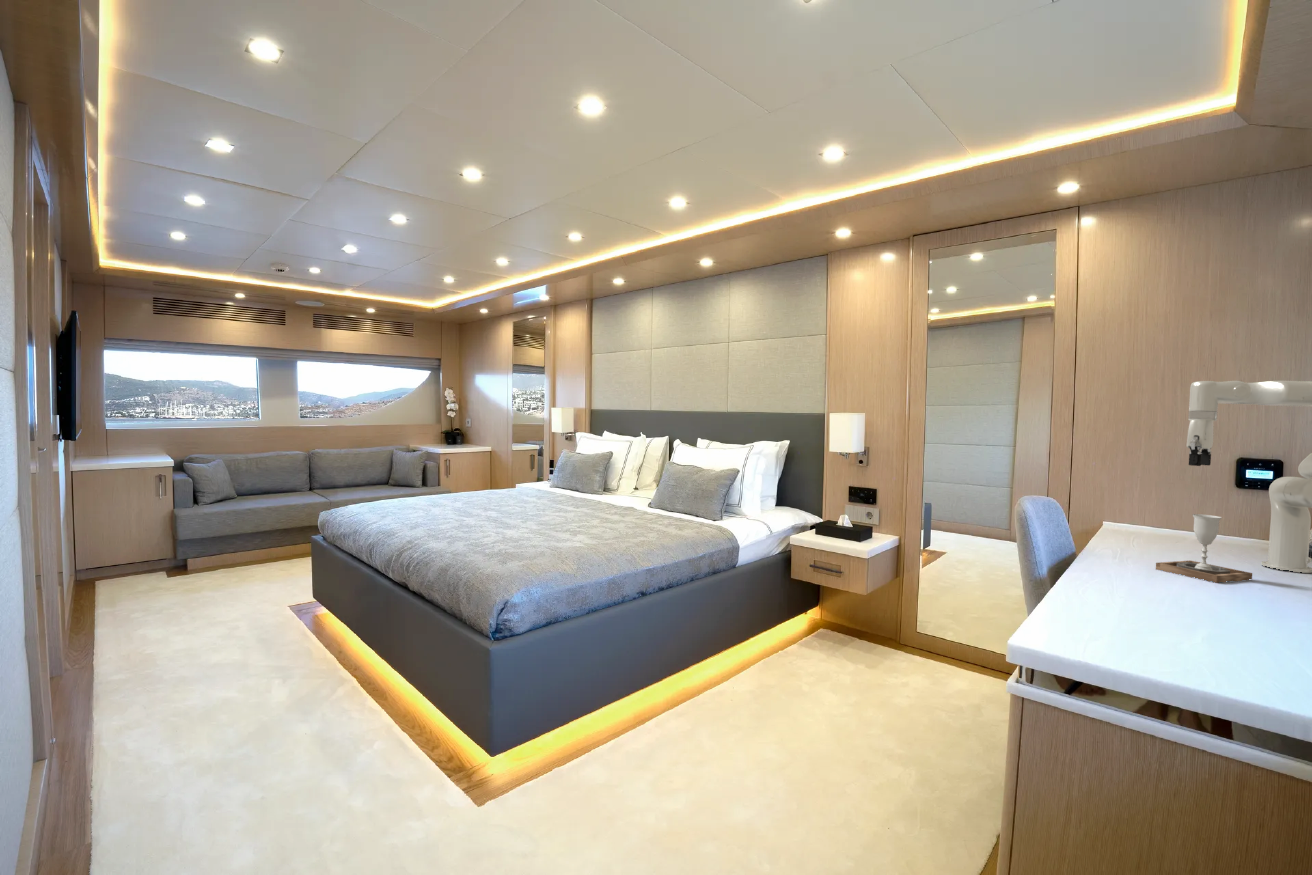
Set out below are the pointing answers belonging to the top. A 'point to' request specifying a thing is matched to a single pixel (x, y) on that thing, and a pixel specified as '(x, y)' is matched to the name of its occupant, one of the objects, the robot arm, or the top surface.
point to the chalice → (1205, 534)
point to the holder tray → (1202, 574)
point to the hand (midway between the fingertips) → (1199, 465)
